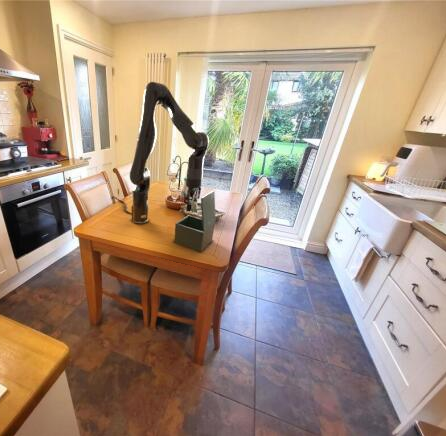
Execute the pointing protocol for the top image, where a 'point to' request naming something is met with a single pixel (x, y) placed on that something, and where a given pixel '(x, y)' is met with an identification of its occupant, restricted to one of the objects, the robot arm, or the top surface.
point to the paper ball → (193, 206)
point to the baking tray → (200, 212)
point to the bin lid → (208, 210)
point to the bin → (193, 233)
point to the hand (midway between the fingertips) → (191, 209)
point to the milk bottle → (183, 189)
